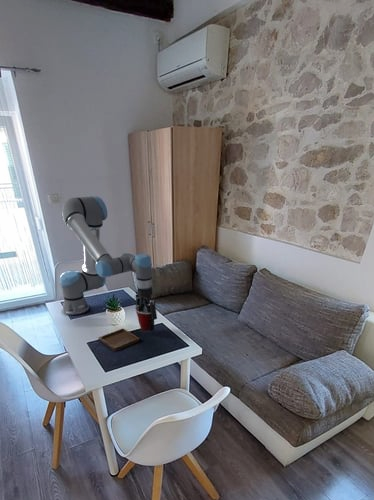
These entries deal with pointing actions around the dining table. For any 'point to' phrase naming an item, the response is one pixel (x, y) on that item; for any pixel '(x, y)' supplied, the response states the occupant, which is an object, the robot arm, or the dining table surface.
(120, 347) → the tray
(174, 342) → the dining table surface
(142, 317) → the plastic cup
